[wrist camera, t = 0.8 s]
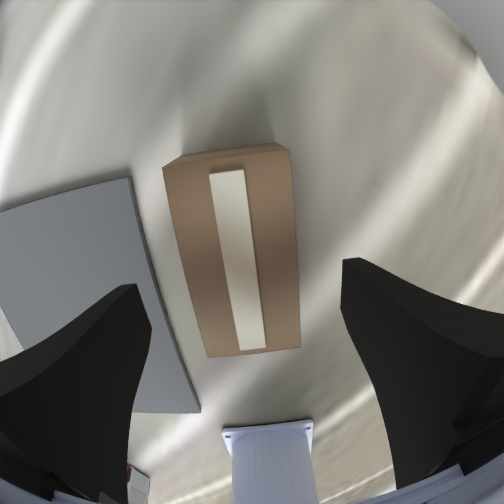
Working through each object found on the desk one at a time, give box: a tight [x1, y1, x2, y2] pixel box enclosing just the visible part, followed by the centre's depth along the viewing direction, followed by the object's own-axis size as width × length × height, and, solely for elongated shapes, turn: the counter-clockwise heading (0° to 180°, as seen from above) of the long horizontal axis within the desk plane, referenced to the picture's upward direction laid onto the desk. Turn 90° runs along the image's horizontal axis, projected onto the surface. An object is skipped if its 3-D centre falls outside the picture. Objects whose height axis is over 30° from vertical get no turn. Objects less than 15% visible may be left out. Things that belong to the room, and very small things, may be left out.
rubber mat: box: [0, 176, 201, 413], centre depth 17 cm, size 18×14×1 cm
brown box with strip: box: [162, 143, 301, 358], centre depth 14 cm, size 9×4×4 cm, turn 7°
